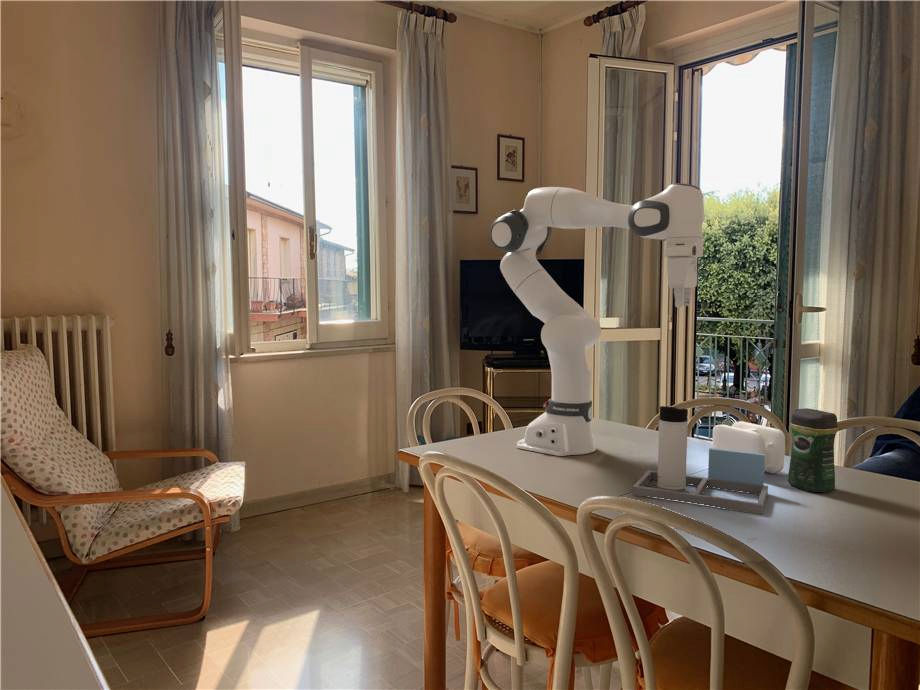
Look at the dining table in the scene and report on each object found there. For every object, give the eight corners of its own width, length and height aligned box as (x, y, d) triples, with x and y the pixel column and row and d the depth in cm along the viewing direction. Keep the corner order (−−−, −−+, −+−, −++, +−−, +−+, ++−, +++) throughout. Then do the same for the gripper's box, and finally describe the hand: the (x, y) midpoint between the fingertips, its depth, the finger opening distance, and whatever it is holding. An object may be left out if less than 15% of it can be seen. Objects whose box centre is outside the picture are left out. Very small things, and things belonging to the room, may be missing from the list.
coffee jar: (841, 491, 159) (845, 412, 158) (817, 495, 156) (821, 414, 154) (805, 480, 168) (808, 404, 166) (781, 484, 165) (785, 407, 163)
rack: (632, 495, 157) (633, 456, 156) (649, 476, 171) (650, 441, 170) (761, 514, 144) (763, 472, 143) (768, 493, 158) (769, 454, 157)
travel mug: (651, 490, 160) (653, 405, 158) (665, 484, 164) (668, 401, 162) (676, 496, 155) (679, 409, 153) (690, 490, 160) (693, 405, 158)
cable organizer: (708, 466, 180) (709, 422, 179) (736, 461, 185) (737, 419, 184) (756, 481, 167) (759, 434, 166) (785, 475, 172) (787, 429, 171)
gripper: (678, 252, 180) (677, 304, 182) (662, 249, 162) (661, 307, 164) (703, 251, 178) (702, 305, 179) (690, 248, 159) (689, 308, 161)
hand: (682, 306), depth 171 cm, fingers open, 8 cm apart
